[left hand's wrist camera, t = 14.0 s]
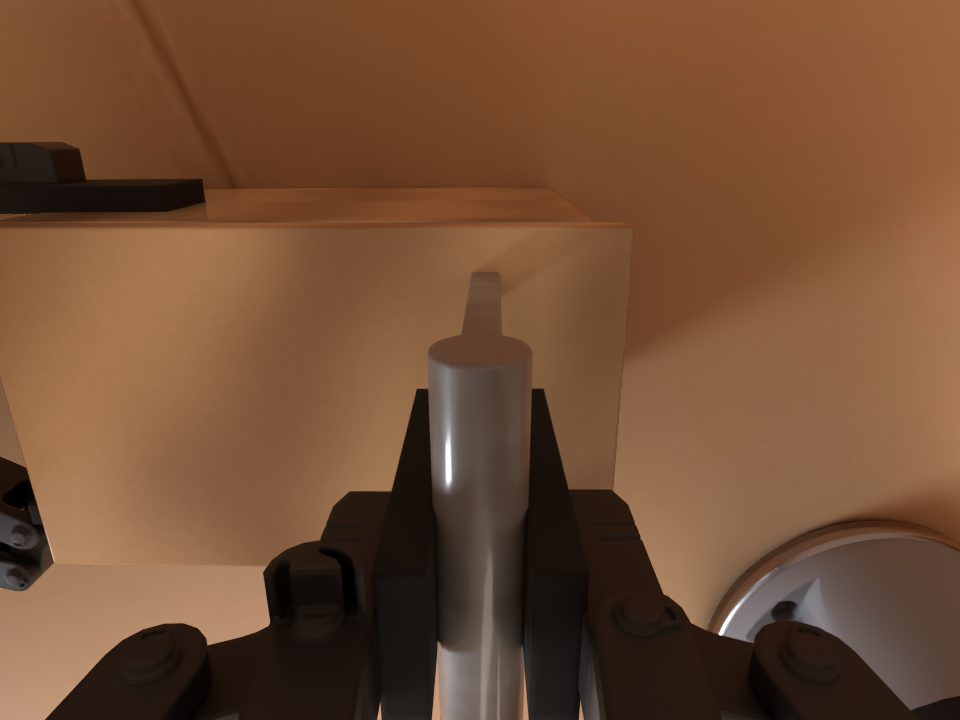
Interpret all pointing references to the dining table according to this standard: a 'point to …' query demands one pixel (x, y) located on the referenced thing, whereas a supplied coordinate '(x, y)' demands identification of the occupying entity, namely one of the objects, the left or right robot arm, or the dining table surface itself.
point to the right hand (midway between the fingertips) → (212, 356)
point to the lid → (314, 394)
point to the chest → (348, 207)
